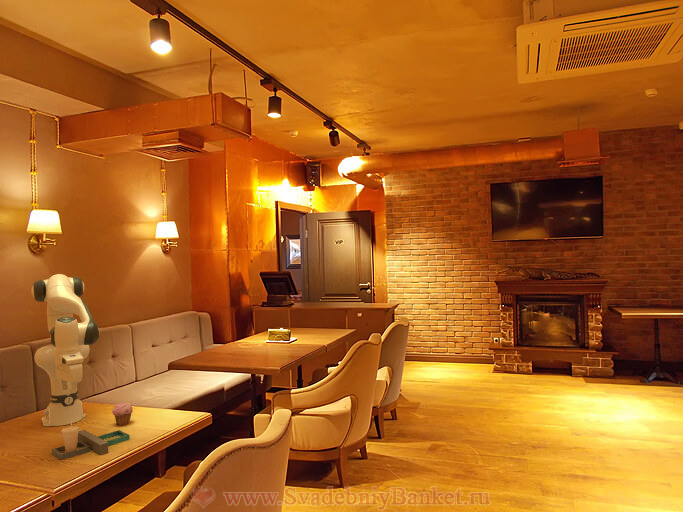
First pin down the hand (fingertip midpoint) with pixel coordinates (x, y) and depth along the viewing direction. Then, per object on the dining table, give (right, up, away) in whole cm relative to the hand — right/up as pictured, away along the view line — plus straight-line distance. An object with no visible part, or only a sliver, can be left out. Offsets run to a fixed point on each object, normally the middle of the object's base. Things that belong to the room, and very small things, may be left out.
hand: (69, 391), depth 196 cm
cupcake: (+7, -25, +34) cm, 43 cm away
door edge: (+6, -25, +6) cm, 26 cm away
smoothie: (+1, -25, 0) cm, 25 cm away
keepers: (+6, -25, +6) cm, 26 cm away
